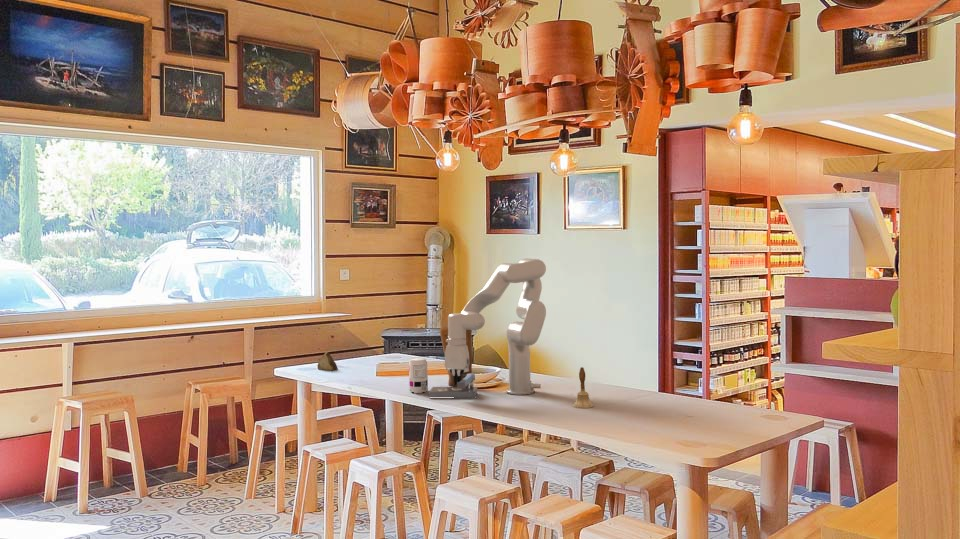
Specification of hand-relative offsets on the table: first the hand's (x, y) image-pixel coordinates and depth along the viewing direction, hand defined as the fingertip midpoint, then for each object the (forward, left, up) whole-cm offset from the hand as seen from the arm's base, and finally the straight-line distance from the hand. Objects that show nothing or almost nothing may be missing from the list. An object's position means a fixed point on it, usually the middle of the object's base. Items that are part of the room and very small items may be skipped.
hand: (457, 384), depth 335 cm
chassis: (+3, -8, -7) cm, 11 cm away
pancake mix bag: (+3, -28, -7) cm, 29 cm away
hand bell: (-53, +10, -7) cm, 54 cm away
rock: (+79, -73, -7) cm, 108 cm away
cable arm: (-3, -3, 0) cm, 5 cm away
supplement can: (+20, -17, -7) cm, 27 cm away
